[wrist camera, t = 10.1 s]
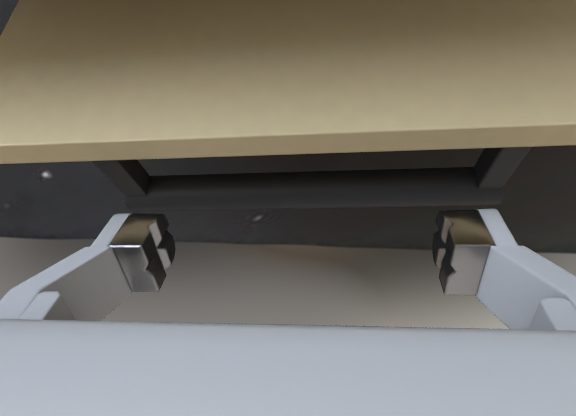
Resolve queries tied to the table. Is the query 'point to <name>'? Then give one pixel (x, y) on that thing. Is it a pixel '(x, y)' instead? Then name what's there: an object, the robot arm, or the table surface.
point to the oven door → (288, 94)
